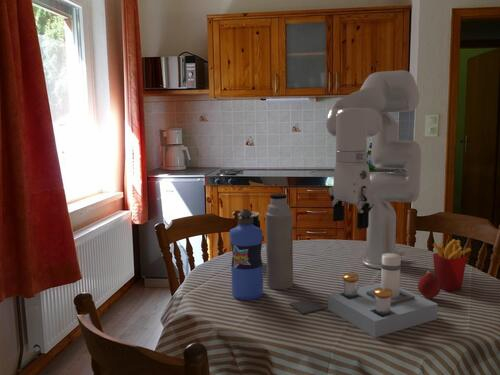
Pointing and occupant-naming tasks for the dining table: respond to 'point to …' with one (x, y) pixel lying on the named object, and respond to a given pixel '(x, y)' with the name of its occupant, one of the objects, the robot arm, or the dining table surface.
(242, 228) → the water bottle
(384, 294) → the plunger
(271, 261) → the thermos bottle
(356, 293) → the plunger
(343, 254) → the dining table surface
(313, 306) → the pad
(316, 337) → the dining table surface
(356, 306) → the housing
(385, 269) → the cartridge
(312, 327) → the dining table surface
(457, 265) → the french fries
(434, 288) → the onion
